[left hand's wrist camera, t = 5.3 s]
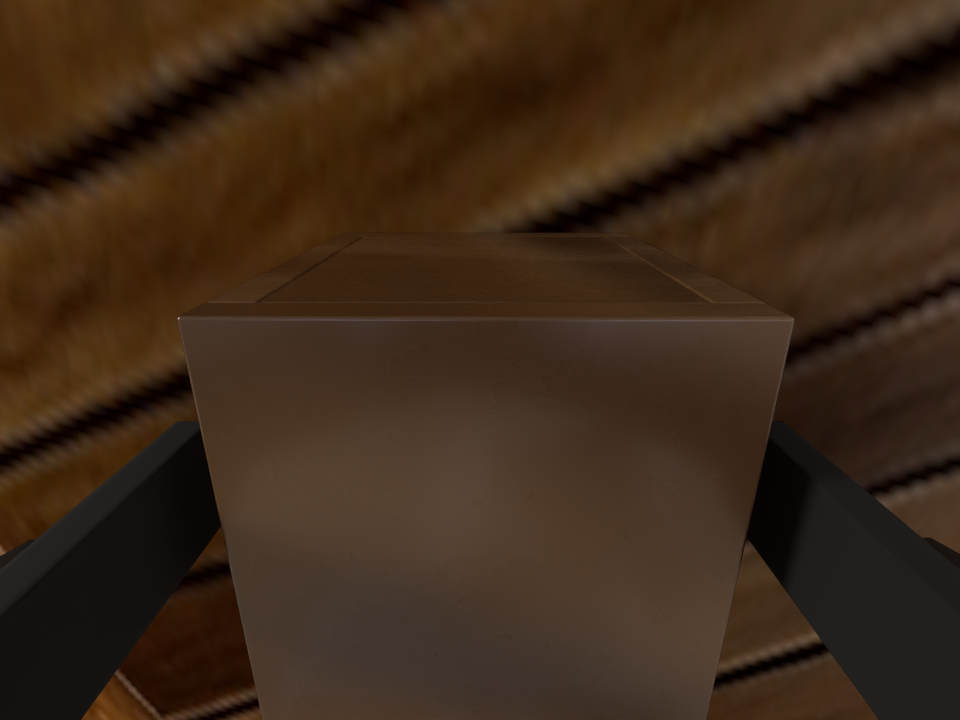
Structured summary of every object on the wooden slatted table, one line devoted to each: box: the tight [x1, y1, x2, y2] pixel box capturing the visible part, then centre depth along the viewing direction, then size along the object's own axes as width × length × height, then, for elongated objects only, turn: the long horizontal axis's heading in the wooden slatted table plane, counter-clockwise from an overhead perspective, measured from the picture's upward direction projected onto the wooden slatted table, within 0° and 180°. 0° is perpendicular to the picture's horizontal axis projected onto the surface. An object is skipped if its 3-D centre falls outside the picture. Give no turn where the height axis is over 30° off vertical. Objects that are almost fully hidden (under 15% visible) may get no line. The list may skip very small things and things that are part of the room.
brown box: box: [177, 233, 794, 720], centre depth 17 cm, size 18×10×11 cm, turn 0°
